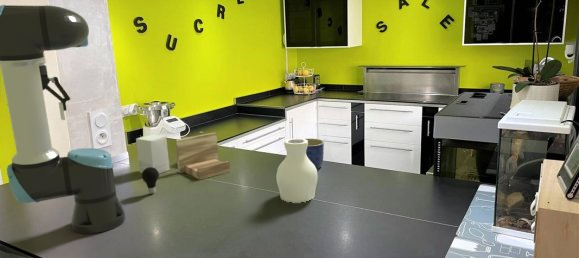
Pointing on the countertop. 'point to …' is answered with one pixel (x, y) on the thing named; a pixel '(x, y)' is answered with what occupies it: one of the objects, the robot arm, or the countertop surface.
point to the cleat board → (200, 156)
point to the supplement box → (153, 153)
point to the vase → (296, 173)
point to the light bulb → (150, 178)
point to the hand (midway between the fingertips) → (43, 122)
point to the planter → (315, 151)
